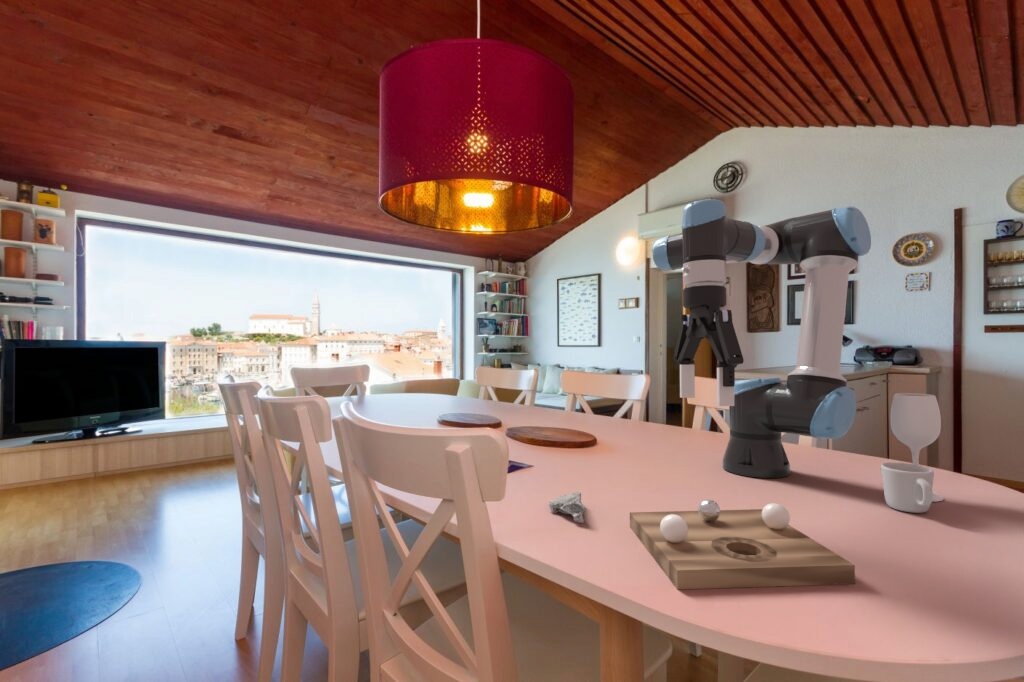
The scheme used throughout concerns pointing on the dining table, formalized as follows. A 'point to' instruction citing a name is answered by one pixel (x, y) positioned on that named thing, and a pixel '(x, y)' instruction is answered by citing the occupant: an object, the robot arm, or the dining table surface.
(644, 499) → the dining table surface
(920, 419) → the wineglass
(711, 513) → the steel ball
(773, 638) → the dining table surface
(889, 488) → the cup
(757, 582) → the board
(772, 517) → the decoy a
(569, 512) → the stone
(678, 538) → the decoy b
